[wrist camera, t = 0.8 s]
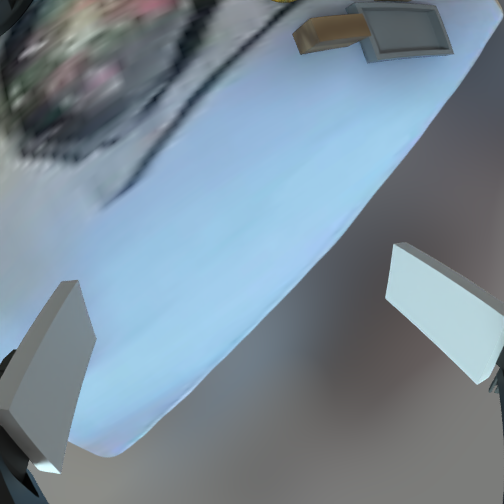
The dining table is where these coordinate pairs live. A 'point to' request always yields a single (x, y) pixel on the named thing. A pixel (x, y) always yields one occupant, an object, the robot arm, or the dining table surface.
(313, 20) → the block
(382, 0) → the socket block
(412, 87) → the dining table surface
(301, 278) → the dining table surface
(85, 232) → the dining table surface
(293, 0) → the rock
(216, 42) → the dining table surface
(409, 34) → the tray
